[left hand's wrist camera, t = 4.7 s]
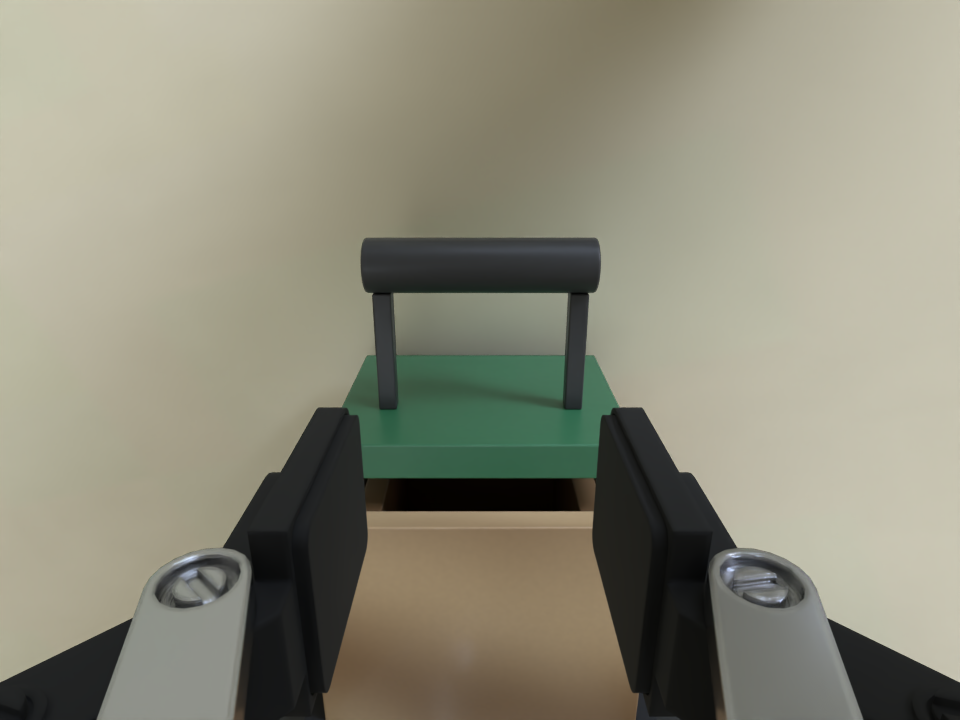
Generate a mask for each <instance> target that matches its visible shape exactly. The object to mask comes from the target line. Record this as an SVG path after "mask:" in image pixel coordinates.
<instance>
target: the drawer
mask: <svg viewBox="0 0 960 720" xmlns="http://www.w3.org/2000/svg"><path fill="white" fill-rule="evenodd" d="M600 269H601V254H600V246H599V242H598V240H597V239H596V238H365V239H364V241H363V243H362V248H361V276H362V283H363V287H364V289H365V291H366V292H368V293H373V295H372V300H373V316H374V332H375V348H376V355H368V356H367V357H366V359H365V361H364V363H363V365H362V367H361V369H360V371H359V373H358V375H357V377H356V379H355V381H354V383H353V385H352V388H351V390H350V392H349V394H348V396H347V398H346V400H345V402H344V404H343V406H342V408H348V410H349V414H350V415H358V417H359V422H360V435H361V448H362V461H363V474H364V478H368V480H367V483H366V486H365V501H366V511H594V500H595V487H596V484H595V481H594V478H596V474H597V461H598V448H599V435H600V422H601V417H602V415H610V414H611V410H612V408H619V405H618V403H617V401H616V399H615V397H614V395H613V393H612V391H611V389H610V387H609V385H608V383H607V381H606V379H605V377H604V375H603V373H602V371H601V369H600V367H599V365H598V363H597V361H596V359H595V357H594V356H593V355H585V352H586V337H587V321H588V305H589V294H588V293H594V292H596V290H597V288H598V285H599V279H600ZM393 293H568V307H567V327H566V346H565V355H396V340H395V320H394V300H393Z"/></svg>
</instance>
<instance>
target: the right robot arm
mask: <svg viewBox="0 0 960 720" xmlns="http://www.w3.org/2000/svg"><path fill="white" fill-rule="evenodd" d="M279 720H326V719H325V711H324V702H323V694H322V693H317V697H316V700H315V704H314V707H313V711H312V714H311V717H282V718H281V719H279ZM636 720H681V719H679V718H678V717H649V714H648V711H647V707H646V704H645V700H644V697H643V693H639V696H638V704H637V713H636Z"/></svg>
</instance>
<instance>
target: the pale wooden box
mask: <svg viewBox="0 0 960 720" xmlns="http://www.w3.org/2000/svg"><path fill="white" fill-rule="evenodd" d="M367 480H368V478H364V487H365V486H366V483H367ZM594 481H595V484H596V478H594ZM366 514H367V527H368V542H367V549H366V554H365V557H364V561H363V565H362V569H361V572H360V576H359V580H358V584H357V587H356V591H355V595H354V599H353V603H352V606H351V610H350V614H349V618H348V621H347V625H346V629H345V633H344V636H343V640H342V644H341V648H340V651H339V655H338V659H337V663H336V667H335V670H334V674H333V678H332V682H331V685H330V688H329V691H328V693H322V694H323V702H324V711H325V719H326V720H636V713H637V704H638V696H639V693H632V691H631V688H630V685H629V682H628V678H627V674H626V670H625V667H624V663H623V659H622V655H621V652H620V648H619V644H618V640H617V636H616V633H615V629H614V625H613V621H612V618H611V614H610V610H609V606H608V603H607V599H606V595H605V591H604V588H603V584H602V580H601V576H600V572H599V569H598V565H597V561H596V557H595V554H594V549H593V542H592V527H593V514H594V511H366Z"/></svg>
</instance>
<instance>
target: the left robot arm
mask: <svg viewBox="0 0 960 720" xmlns="http://www.w3.org/2000/svg"><path fill="white" fill-rule="evenodd" d="M367 542H368V527H367V514H366V501H365V487H364V474H363V461H362V448H361V435H360V422H359V417H358V415H350V414H349V410H348V408H317V410H316V411H315V413H314V415H313V417H312V418H311V420H310V422H309V424H308V425H307V427H306V429H305V431H304V432H303V434H302V436H301V438H300V439H299V441H298V443H297V445H296V446H295V448H294V450H293V452H292V453H291V455H290V457H289V459H288V460H287V462H286V464H285V466H284V468H283V469H282V471H281V472H272V473H269V474H268V475H267V476H266V477H265V479H264V480H263V482H262V484H261V485H260V487H259V489H258V490H257V492H256V494H255V495H254V497H253V499H252V500H251V502H250V504H249V505H248V507H247V509H246V510H245V512H244V514H243V515H242V517H241V518H240V520H239V522H238V523H237V525H236V527H235V528H234V530H233V532H232V533H231V535H230V537H229V538H228V540H227V542H226V543H225V545H224V547H223V548H210V549H203V550H199V551H194V552H190V553H188V554H185V555H183V556H180V557H178V558H175V559H174V560H172V561H170V562H169V563H167V564H165V565H164V566H162V567H161V568H160V569H159V570H158V571H156V572H155V573H154V574H153V575H152V576H151V577H150V578H149V580H148V582H147V584H146V585H145V587H144V589H143V592H142V594H141V597H140V600H139V603H138V606H137V608H136V611H135V614H134V617H133V618H132V619H130V620H128V621H126V622H124V623H122V624H120V625H117V626H115V627H113V628H111V629H109V630H107V631H105V632H103V633H101V634H99V635H97V636H95V637H93V638H91V639H89V640H87V641H85V642H83V643H81V644H79V645H76V646H74V647H72V648H70V649H68V650H66V651H64V652H62V653H60V654H58V655H56V656H54V657H52V658H50V659H48V660H46V661H44V662H42V663H40V664H37V665H35V666H33V667H31V668H29V669H27V670H25V671H23V672H21V673H19V674H17V675H15V676H13V677H11V678H9V679H7V680H5V681H3V682H1V683H0V720H279V719H281V718H282V717H311V714H312V711H313V707H314V704H315V700H316V697H317V693H328V691H329V688H330V685H331V682H332V678H333V674H334V670H335V667H336V663H337V659H338V655H339V651H340V648H341V644H342V640H343V636H344V633H345V629H346V625H347V621H348V618H349V614H350V610H351V606H352V603H353V599H354V595H355V591H356V587H357V584H358V580H359V576H360V572H361V569H362V565H363V561H364V557H365V554H366V549H367ZM592 542H593V549H594V554H595V557H596V561H597V565H598V569H599V572H600V576H601V580H602V584H603V588H604V591H605V595H606V599H607V603H608V606H609V610H610V614H611V618H612V621H613V625H614V629H615V633H616V636H617V640H618V644H619V648H620V652H621V655H622V659H623V663H624V667H625V670H626V674H627V678H628V682H629V685H630V688H631V691H632V693H643V697H644V700H645V704H646V707H647V711H648V714H649V717H678V718H679V719H681V720H960V683H959V682H957V681H955V680H953V679H951V678H949V677H947V676H945V675H943V674H941V673H939V672H937V671H935V670H933V669H931V668H929V667H927V666H925V665H923V664H920V663H918V662H916V661H914V660H912V659H910V658H908V657H906V656H904V655H902V654H900V653H898V652H896V651H894V650H892V649H890V648H888V647H886V646H884V645H881V644H879V643H877V642H875V641H873V640H871V639H869V638H867V637H865V636H863V635H861V634H859V633H857V632H855V631H853V630H851V629H849V628H847V627H845V626H842V625H840V624H838V623H836V622H834V621H832V620H830V619H828V618H827V617H826V614H825V611H824V608H823V606H822V603H821V600H820V597H819V594H818V592H817V589H816V587H815V585H814V584H813V582H812V580H811V578H810V577H809V576H808V575H807V574H806V573H805V572H804V571H802V570H801V569H800V568H799V567H798V566H796V565H795V564H793V563H791V562H790V561H788V560H786V559H785V558H782V557H780V556H777V555H775V554H772V553H770V552H766V551H761V550H757V549H750V548H737V547H736V545H735V543H734V542H733V540H732V538H731V537H730V535H729V533H728V532H727V530H726V528H725V527H724V525H723V523H722V522H721V520H720V519H719V517H718V515H717V514H716V512H715V510H714V509H713V507H712V505H711V504H710V502H709V500H708V499H707V497H706V495H705V494H704V492H703V490H702V489H701V487H700V485H699V484H698V482H697V480H696V479H695V477H694V476H693V475H692V474H691V473H688V472H679V471H678V469H677V468H676V466H675V464H674V462H673V461H672V459H671V457H670V455H669V453H668V452H667V450H666V448H665V446H664V445H663V443H662V441H661V439H660V438H659V436H658V434H657V432H656V431H655V429H654V427H653V425H652V424H651V422H650V420H649V418H648V417H647V415H646V413H645V411H644V410H643V408H612V410H611V414H610V415H602V417H601V422H600V435H599V448H598V461H597V474H596V487H595V500H594V514H593V527H592Z"/></svg>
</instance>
